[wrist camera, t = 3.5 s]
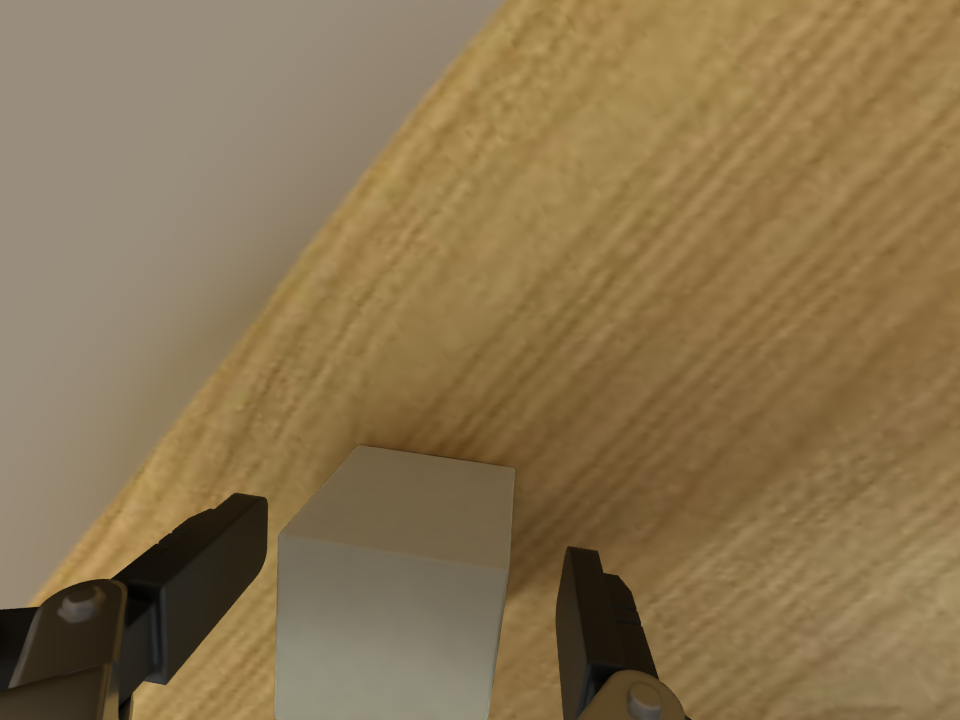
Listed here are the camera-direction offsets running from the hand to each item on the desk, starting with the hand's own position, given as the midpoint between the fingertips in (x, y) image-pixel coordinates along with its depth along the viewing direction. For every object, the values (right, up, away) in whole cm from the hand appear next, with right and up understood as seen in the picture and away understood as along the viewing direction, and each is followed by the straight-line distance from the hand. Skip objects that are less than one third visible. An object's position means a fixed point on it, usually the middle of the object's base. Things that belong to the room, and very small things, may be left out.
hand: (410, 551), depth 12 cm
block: (0, 0, +1) cm, 1 cm away
